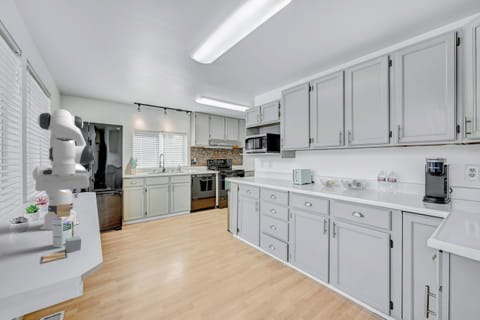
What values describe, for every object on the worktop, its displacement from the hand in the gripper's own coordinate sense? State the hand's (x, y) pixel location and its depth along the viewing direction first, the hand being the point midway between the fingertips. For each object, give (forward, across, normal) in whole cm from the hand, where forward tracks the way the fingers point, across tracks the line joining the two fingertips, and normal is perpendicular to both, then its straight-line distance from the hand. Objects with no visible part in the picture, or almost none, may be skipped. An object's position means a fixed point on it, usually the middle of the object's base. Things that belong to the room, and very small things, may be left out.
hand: (63, 198), depth 103 cm
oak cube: (+8, 0, 0) cm, 8 cm away
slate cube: (+22, -3, +11) cm, 25 cm away
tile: (+22, +3, +16) cm, 28 cm away
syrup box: (+23, 0, +1) cm, 23 cm away
